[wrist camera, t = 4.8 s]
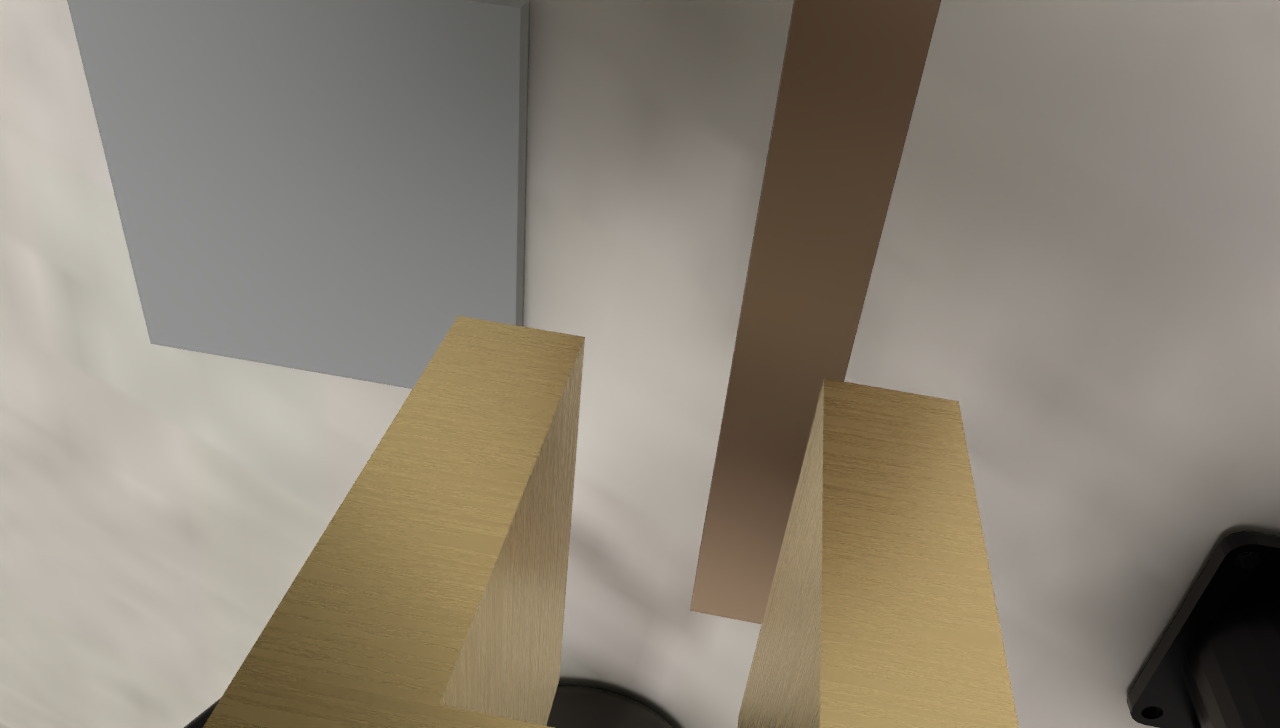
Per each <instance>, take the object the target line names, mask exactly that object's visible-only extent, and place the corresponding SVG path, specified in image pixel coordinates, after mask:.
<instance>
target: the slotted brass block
mask: <svg viewBox="0 0 1280 728" xmlns="http://www.w3.org/2000/svg"><path fill="white" fill-rule="evenodd" d="M584 340H585V337H580V336H575V335H569V334H563V333H557V332H551V331H546V330H540V329H534V328H528V327H522V326H516V325H511V324H505V323H499V322H493V321H487V320H482V319H476V318H470V317H464V316H458V317H457V318H456V320H455V322H454V323H453V325H452V326H451V328H450V330H449V331H448V333H447V334H446V336H445V338H444V339H443V341H442V343H441V344H440V346H439V347H438V349H437V351H436V352H435V354H434V355H433V357H432V359H431V360H430V362H429V364H428V365H427V367H426V368H425V370H424V372H423V373H422V375H421V376H420V378H419V380H418V381H417V383H416V385H415V386H414V388H413V389H412V391H411V393H410V394H409V396H408V397H407V399H406V401H405V402H404V404H403V405H402V407H401V409H400V410H399V412H398V414H397V415H396V417H395V418H394V420H393V422H392V423H391V425H390V426H389V428H388V430H387V431H386V433H385V435H384V436H383V438H382V439H381V441H380V443H379V444H378V446H377V447H376V449H375V451H374V452H373V454H372V455H371V457H370V459H369V460H368V462H367V464H366V465H365V467H364V468H363V470H362V472H361V473H360V475H359V476H358V478H357V480H356V481H355V483H354V485H353V486H352V488H351V489H350V491H349V493H348V494H347V496H346V497H345V499H344V501H343V502H342V504H341V506H340V507H339V509H338V510H337V512H336V514H335V515H334V517H333V518H332V520H331V522H330V523H329V525H328V526H327V528H326V530H325V531H324V533H323V535H322V536H321V538H320V539H319V541H318V543H317V544H316V546H315V547H314V549H313V551H312V552H311V554H310V556H309V557H308V559H307V560H306V562H305V564H304V565H303V567H302V568H301V570H300V572H299V573H298V575H297V576H296V578H295V580H294V581H293V583H292V585H291V586H290V588H289V589H288V591H287V593H286V594H285V596H284V597H283V599H282V601H281V602H280V604H279V606H278V607H277V609H276V610H275V612H274V614H273V615H272V617H271V618H270V620H269V622H268V623H267V625H266V627H265V628H264V630H263V631H262V633H261V635H260V636H259V638H258V639H257V641H256V643H255V644H254V646H253V647H252V649H251V651H250V652H249V654H248V656H247V657H246V659H245V660H244V662H243V664H242V665H241V667H240V668H239V670H238V672H237V673H236V675H235V677H234V678H233V680H232V681H231V683H230V685H229V686H228V688H227V689H226V691H225V693H224V694H223V696H222V697H221V699H220V701H219V702H218V704H217V706H216V707H215V709H214V710H213V712H212V714H211V715H210V717H209V718H208V720H207V722H206V723H205V725H204V727H203V728H554V727H549V726H546V725H547V721H548V718H549V714H550V711H551V707H552V704H553V700H554V697H555V693H556V689H557V686H558V682H559V676H560V662H561V649H562V636H563V622H564V609H565V595H566V582H567V569H568V555H569V542H570V528H571V515H572V501H573V488H574V475H575V461H576V448H577V434H578V421H579V407H580V394H581V381H582V367H583V354H584ZM738 728H1019V727H1018V721H1017V716H1016V711H1015V705H1014V700H1013V694H1012V689H1011V683H1010V678H1009V673H1008V667H1007V662H1006V656H1005V651H1004V645H1003V640H1002V635H1001V629H1000V624H999V618H998V613H997V607H996V602H995V597H994V591H993V586H992V580H991V575H990V570H989V564H988V559H987V553H986V548H985V542H984V537H983V532H982V526H981V521H980V515H979V510H978V504H977V499H976V494H975V488H974V483H973V477H972V472H971V466H970V461H969V456H968V450H967V445H966V439H965V434H964V429H963V423H962V418H961V412H960V407H959V401H953V400H947V399H941V398H935V397H930V396H924V395H918V394H912V393H906V392H901V391H895V390H889V389H883V388H877V387H871V386H866V385H860V384H854V383H848V382H842V381H837V380H831V379H825V378H824V380H823V384H822V388H821V392H820V396H819V400H818V404H817V408H816V412H815V416H814V420H813V423H812V427H811V431H810V435H809V439H808V443H807V447H806V451H805V455H804V459H803V463H802V467H801V471H800V475H799V479H798V483H797V487H796V491H795V495H794V499H793V503H792V507H791V511H790V515H789V519H788V523H787V527H786V530H785V534H784V538H783V542H782V546H781V550H780V554H779V558H778V562H777V566H776V570H775V574H774V578H773V582H772V586H771V590H770V594H769V598H768V602H767V606H766V610H765V614H764V618H763V622H762V626H761V630H760V634H759V638H758V641H757V645H756V649H755V653H754V657H753V661H752V665H751V669H750V673H749V677H748V681H747V685H746V689H745V693H744V697H743V701H742V705H741V709H740V713H739V718H738Z"/></svg>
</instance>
